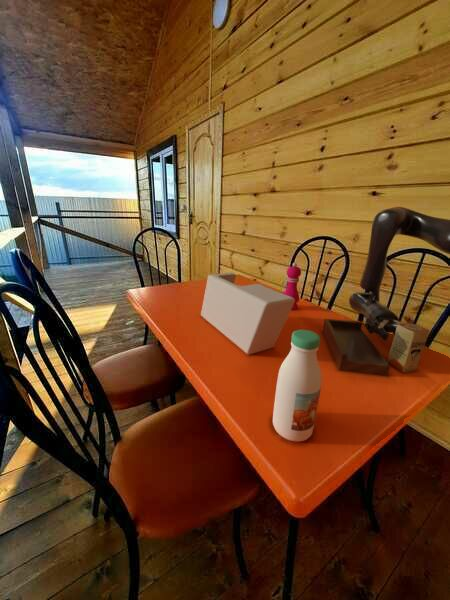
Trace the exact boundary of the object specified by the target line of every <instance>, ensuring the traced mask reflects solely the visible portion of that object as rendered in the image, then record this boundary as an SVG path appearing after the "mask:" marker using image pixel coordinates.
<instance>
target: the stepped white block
mask: <svg viewBox="0 0 450 600" xmlns="http://www.w3.org/2000/svg"><path fill="white" fill-rule="evenodd" d="M236 277H237V275H236V274H235V273H233V272H223V273H214V274H208V276H207V280H206V284H205V285H206V286H205V290H204V296H203V302H202V306H201V311H200V317H202V318H203V319H204V320H206V321H207V322H208V323H209V324H210V325H212V326H213V327H214V328H216V329H217V330H218V331H219V332H220V333H221V334H223V335H224V336H225V337H226V338H227V339H229V340H230V342H232V343H233V344H234V345H236V346H237V347H238V348H239V349H240V350H242V352H244V353H245V354H246V355H252V354H257V353H259V352H264V351H266V350H270V349H272V348H274V347H275V345H276V344H277V341H278V339H279V337H280V335H281V332H282V330H283V328H284V327H285V323H286V322H287V320H288V317H289V315H290V313H291V311H292V310H291V309H292V307H293V304H294V302H295V299H294V298H292V297H290V296H287V295H285V294H283V292H280V291H277V290H275V289H272V288H270V287H267V286H266V285H263V284H260V283H252V284H247V285H238V284H236V283H235V281H236Z"/></svg>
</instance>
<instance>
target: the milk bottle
mask: <svg viewBox="0 0 450 600" xmlns="http://www.w3.org/2000/svg"><path fill="white" fill-rule="evenodd" d="M290 338H291V339H290V340H291V342H290V346H291V348H290V351H289V353H288V354H287V356H286V357H285V358H284V360H283V361H282V363H281V365H280V367H279V370H278V374H277V379H276V380H277V381H276V388H275V393H274V394H275V395H274V402H273V403H274V404H273V412H272V425H273V427H274V430H275V431H276V433H277V434H279V436H280V437H282V438H283V439H285V440H288V441H291V442H304V441H306V440H308V439H309V438H310V437H311V436H312V435H313V431H314V428H315V423H316V417H317V412H318V406H319V401H320V395H321V390H322V381H323V380H322V370H321V366H320V365H319V362H318V357H317V351H319V346H320V341H321V337H320V335H319V334H317V333H316V332H314V331H312V330H308V329H297V330H294V331H293V332H292V334H291V337H290Z"/></svg>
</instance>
